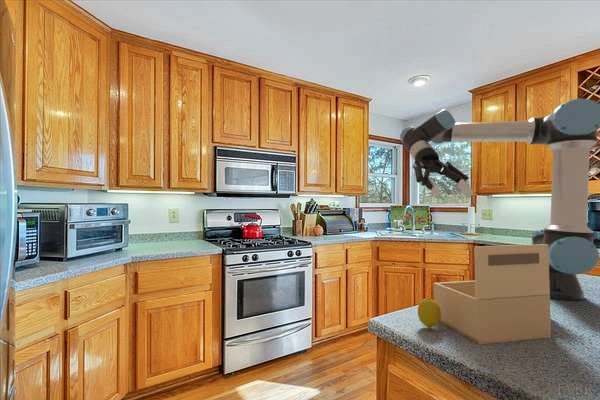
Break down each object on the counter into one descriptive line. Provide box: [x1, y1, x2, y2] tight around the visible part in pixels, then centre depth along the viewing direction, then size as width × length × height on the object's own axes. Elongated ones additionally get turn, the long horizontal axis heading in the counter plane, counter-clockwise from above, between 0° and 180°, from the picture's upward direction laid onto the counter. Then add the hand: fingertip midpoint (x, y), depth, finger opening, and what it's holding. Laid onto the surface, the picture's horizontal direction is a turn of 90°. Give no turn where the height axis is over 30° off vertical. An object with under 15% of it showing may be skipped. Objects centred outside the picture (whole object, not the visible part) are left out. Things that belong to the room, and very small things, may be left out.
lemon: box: [417, 296, 441, 330], centre depth 75 cm, size 6×6×8 cm
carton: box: [432, 279, 552, 346], centre depth 76 cm, size 20×16×10 cm
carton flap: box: [473, 243, 550, 299], centre depth 69 cm, size 20×1×12 cm, turn 101°
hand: (454, 195), depth 92 cm, fingers open, 11 cm apart
